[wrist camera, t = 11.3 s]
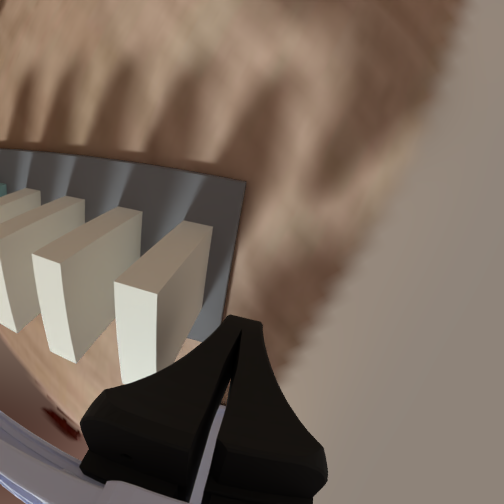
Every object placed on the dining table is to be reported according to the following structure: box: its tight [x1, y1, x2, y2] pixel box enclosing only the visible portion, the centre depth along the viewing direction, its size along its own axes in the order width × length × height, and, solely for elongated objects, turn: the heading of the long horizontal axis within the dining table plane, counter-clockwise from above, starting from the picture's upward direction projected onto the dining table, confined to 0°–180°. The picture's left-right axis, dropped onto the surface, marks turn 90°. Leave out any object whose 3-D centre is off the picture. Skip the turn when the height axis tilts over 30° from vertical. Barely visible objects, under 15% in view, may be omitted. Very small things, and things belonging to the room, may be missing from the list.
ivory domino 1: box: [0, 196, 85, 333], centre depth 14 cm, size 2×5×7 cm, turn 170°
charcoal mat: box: [0, 148, 246, 342], centre depth 18 cm, size 10×24×1 cm, turn 80°
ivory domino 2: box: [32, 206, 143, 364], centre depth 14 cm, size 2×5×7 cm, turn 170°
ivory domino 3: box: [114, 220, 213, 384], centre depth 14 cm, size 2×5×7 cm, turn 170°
